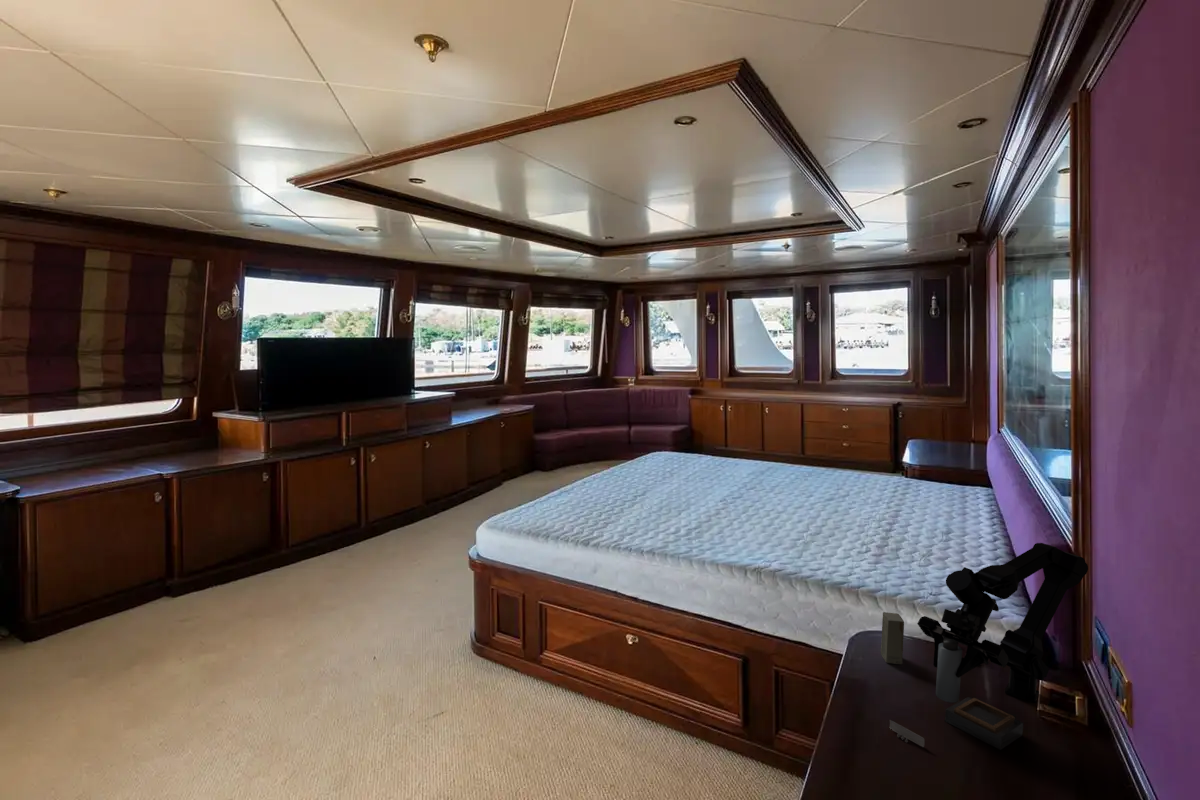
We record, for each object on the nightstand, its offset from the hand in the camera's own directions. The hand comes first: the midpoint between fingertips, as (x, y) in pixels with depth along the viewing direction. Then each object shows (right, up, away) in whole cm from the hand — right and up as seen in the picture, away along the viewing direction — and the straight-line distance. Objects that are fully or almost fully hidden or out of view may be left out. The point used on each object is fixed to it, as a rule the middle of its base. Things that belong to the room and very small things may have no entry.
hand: (945, 671), depth 143 cm
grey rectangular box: (+8, -13, -1) cm, 15 cm away
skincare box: (+2, -10, +30) cm, 32 cm away
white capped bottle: (+1, -7, +1) cm, 7 cm away
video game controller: (+20, -10, +32) cm, 39 cm away
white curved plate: (-13, -13, -6) cm, 20 cm away
